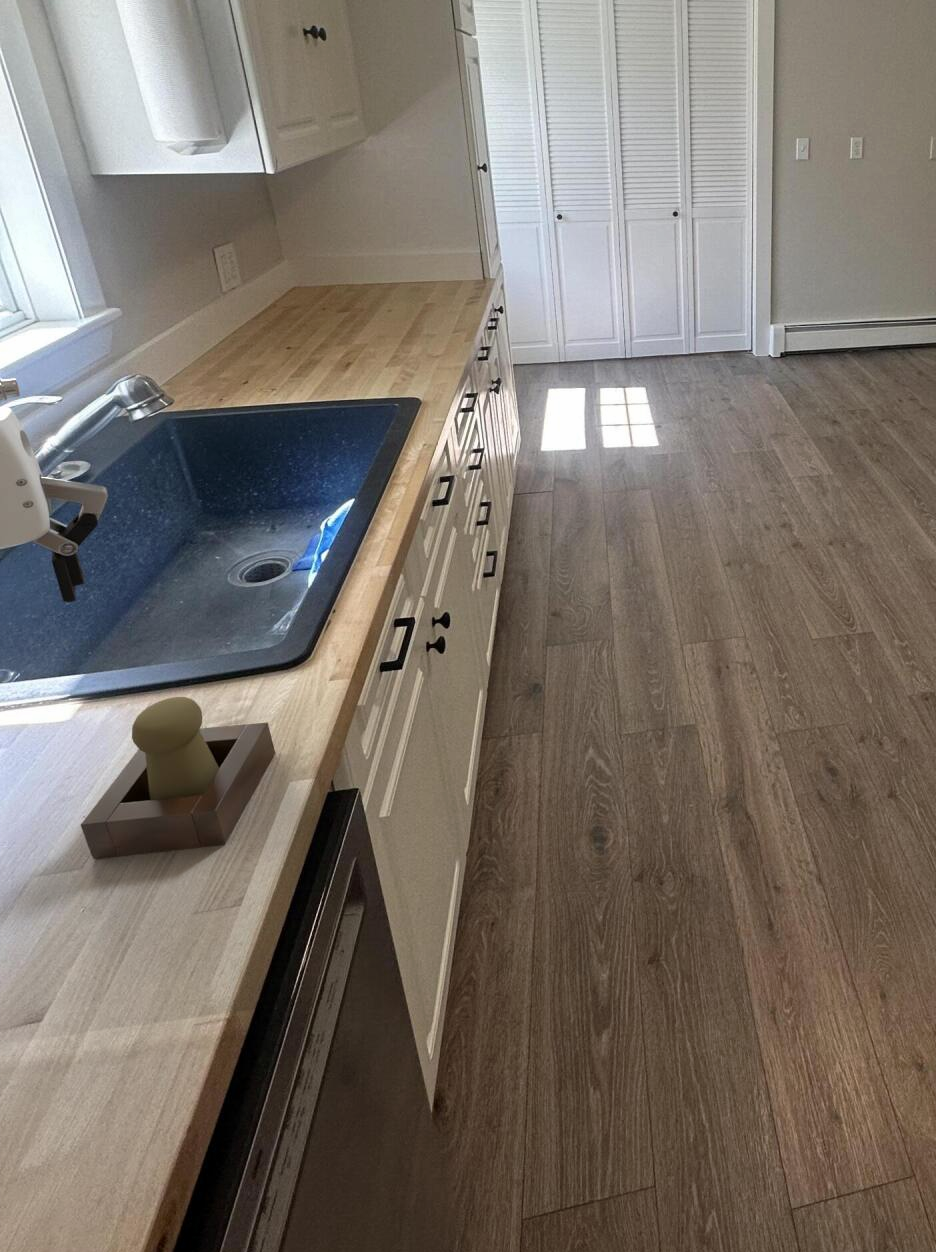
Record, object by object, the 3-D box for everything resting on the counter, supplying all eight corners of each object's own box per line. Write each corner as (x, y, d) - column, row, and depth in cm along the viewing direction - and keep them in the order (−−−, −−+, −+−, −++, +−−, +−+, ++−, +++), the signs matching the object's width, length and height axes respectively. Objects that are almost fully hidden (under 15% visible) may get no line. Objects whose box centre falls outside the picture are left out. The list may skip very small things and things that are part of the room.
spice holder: (92, 859, 69) (80, 825, 68) (161, 764, 79) (151, 732, 78) (225, 844, 71) (215, 810, 69) (275, 753, 81) (268, 721, 79)
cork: (193, 834, 72) (163, 738, 68) (135, 824, 73) (103, 729, 69) (243, 781, 77) (218, 690, 74) (189, 773, 78) (162, 682, 74)
